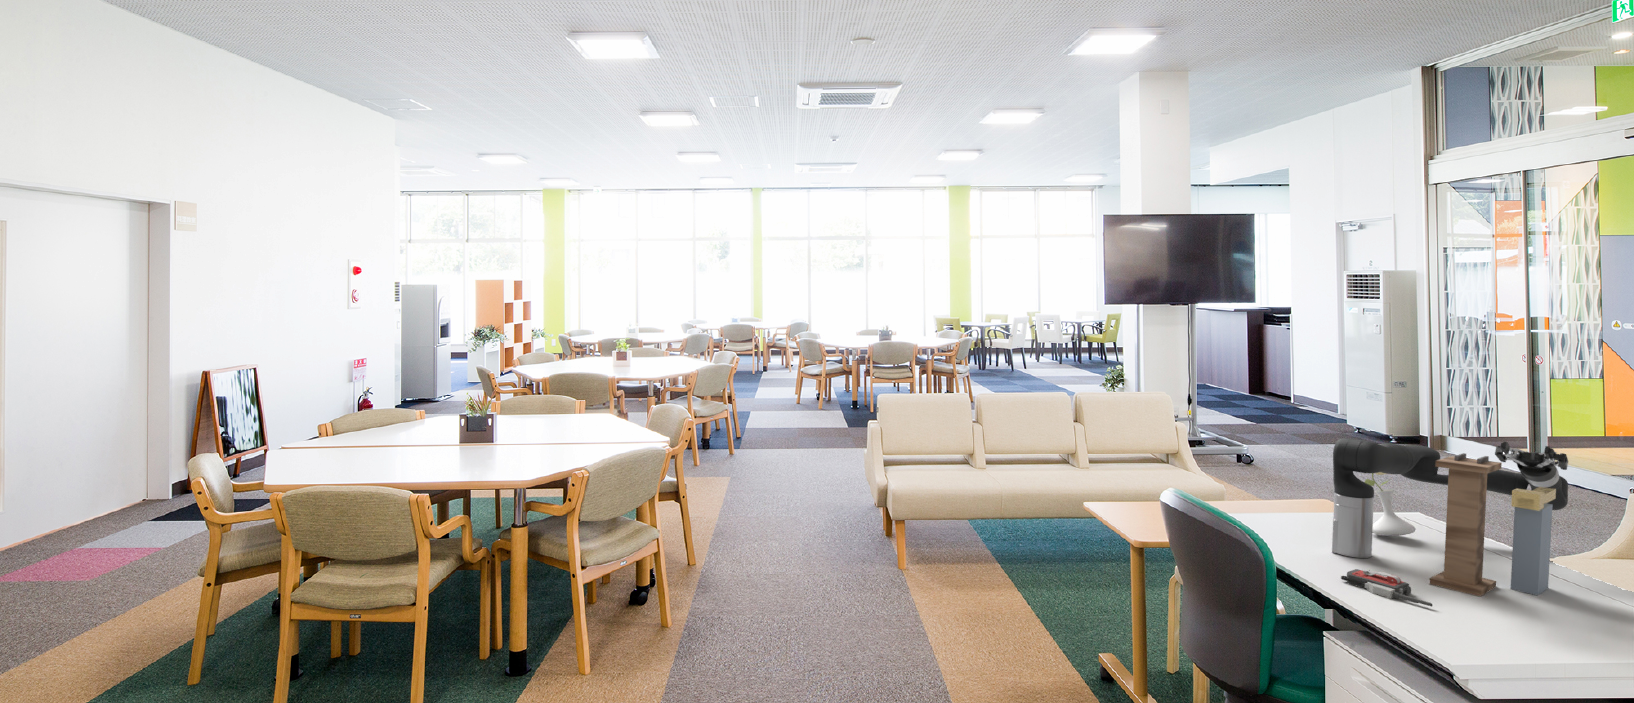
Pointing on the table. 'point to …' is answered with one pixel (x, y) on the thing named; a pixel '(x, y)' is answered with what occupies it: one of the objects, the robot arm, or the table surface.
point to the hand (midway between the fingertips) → (1525, 446)
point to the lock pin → (1532, 498)
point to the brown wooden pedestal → (1465, 525)
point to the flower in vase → (1389, 514)
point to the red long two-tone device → (1382, 584)
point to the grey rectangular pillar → (1531, 549)
